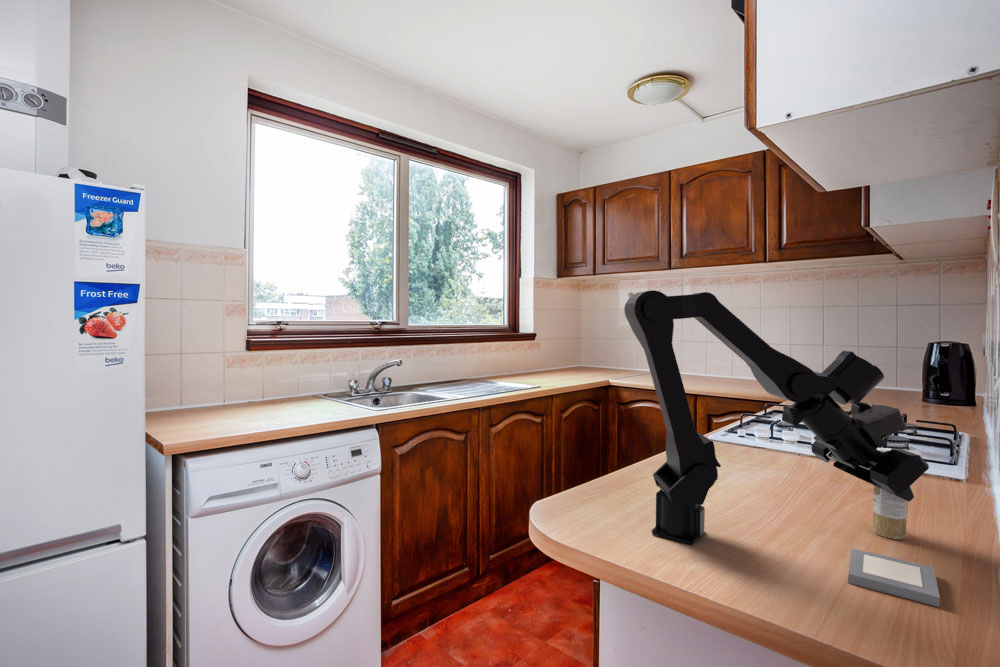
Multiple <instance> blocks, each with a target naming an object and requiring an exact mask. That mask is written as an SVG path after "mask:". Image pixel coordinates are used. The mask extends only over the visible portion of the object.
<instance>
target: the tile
mask: <svg viewBox="0 0 1000 667" xmlns="http://www.w3.org/2000/svg"><path fill="white" fill-rule="evenodd" d="M849 559H850V560H849V565H848V566H849V567H848V576H847V577H848V578H847V582H848V584H851V585H855V586H860V587H863V588H867V589H869V590H872V591H873V590H874V591H877V592H881V593H885V594H889V595H893V596H896V597H899V598H900V597H901V598H903V599H908V600H912V601H915V602H917V603H918V602H919V603H922V604H926V605H930V606H934V607H937V608H940V606H941V604H940V603H941V598H940V597H941V596H940V591H939V588H938V587H939V586H938V582H937V577H936V572H935V568H934V566H930V565H925V564H921V563H917V562H912V561H909V560H903V559H901V558H900V559H899V558H895V557H891V556H887V555H883V554H879V553H873V552H869V551H865V550H861V549H856V548H853V547H851V550H850V558H849Z"/></svg>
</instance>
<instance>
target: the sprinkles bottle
mask: <svg viewBox="0 0 1000 667" xmlns="http://www.w3.org/2000/svg"><path fill="white" fill-rule="evenodd" d="M891 449H892V448H886V447H881V448H879V447H878V448H877V450H878V451H881V452H886V451H890V450H891ZM908 510H909V501H907V500H904V499H902V498H900V497H898V496H896V495H894V494H892V493H889V492H887V491H885V490H883V489H881V488H879V487H877V486H875V485H873V498H872V511H873V512H872V513H873V514H872V526H871V529H872V531H873V533H875V534H876V535H879V536H880V537H883V538H889V539H891V540H892V539H893V540H905V539H907V538H908V533H907V519H908V512H909V511H908Z"/></svg>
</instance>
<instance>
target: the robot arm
mask: <svg viewBox="0 0 1000 667" xmlns="http://www.w3.org/2000/svg"><path fill="white" fill-rule="evenodd" d="M623 309H624V315H625V318H626V320H627V322H628V324H629V326H630V328H631V330H632V332H633V334H634V336H635V337H636V339H637V340H638V341H639V342H638V343H639V344H640V346H641V348H642V349H643V351H644V354H645V357H646V362H647V364H648V367H649V372H650V374H651V375H650V377H651V378H652V383H653V387H654V389H655V394H656V398H657V400H658V403H659V408H660V411H661V415H662V418H663V422H664V426H665V429H666V439H665V454H666V461H665V462H664V463H663V464H662V465H661V466H660V467H659V468H658V469H657V470H656V471H655V472H653V473H652V477H653V480H654V482H655V485H656V487H658V488H659V490H658V491H657V492H655V526H654V527H653V529H651V534H653V535H656V536H658V537H663V538H665V539H669V540H673V541H676V542H679V543H684V544H689V545H694V544H695V543H696V542H697V541H698V539H699V538H700V537H701V536H702V535H703V534H704V533H705V522H706V521H705V518H706V517H705V514H706V513H705V512H706V510H705V507H704V506H702V505H704V503H705V501H706V498H707V496H708V493H709V491H710V489H711V488H712V487H713V486H714V485H715V482H717V480H718V478H719V477H718V476H719V473H718V468H721V467H722V465H721V464H720V462H719V461H718V459H717V457H716V448H715V444H714V441H713V440H712V439H709V438H708V437H706V436H705V435H703V434H702V433H700V432H698V431H697V429H696V426H695V422H694V418H693V415H692V411H691V408H690V404H689V401H688V397H687V394H686V390H685V386H684V383H683V379H682V375H681V372H680V368H679V364H678V362H677V357H676V354H675V351H674V347H673V336H674V327H675V324H674V320H681V319H682V320H683V319H691V318H693V319H695V320H696V321H698V322H699V323H700V324H701V325H702V326H703V327H704V328H705V329H706V330H708V331H709V332H710V333H711V334H712V335H713V336H715V337H716V338H717V339H718V340H720V341H721V342H722V343H723V345H725V346H726V347H727V348H729V349H730V351H732V352H733V353H735V355H737V356H738V357H739V358H740V359H741V360H743V362H745V364H746V365H747V366H748V367H749V369H750V371H751V373H752V375H753V377H754V378H755V379H756V381H757V382H758V383H759V384H760V385H761V387H762V388H763V389H764V390H765V391H766V393H767V394H770V395H771V396H773V397H777V398H780V399H783V400H786V401H790V402H793V403H792V405H784V406H783V407H782V410H783V412H782V415H781V421H782V422H783V423H785V424H789V425H792V426H794V427H797V426H798V425H800V424H801V423H803V424H804V426H806V427H807V429H808V430H810V431H811V433H813V435H814V437H813V439H814V442H813V443H812V444H811V453H812V454H813V455H814V456H815V457H816V458H817V459H819V460H820V461H823V462H824V463H827V464H828V463H829V462H831V459H833V460H834V463H833V467H834V468H836V469H838V470H841V471H842V472H844V473H847V474H849V475H851V476H852V477H856V478H858V479H860V480H862V481H864V482H866V483H868V484H869V485H870V484H871V485H872V486H874V485H875V486H877V487H879V488H881V489H883V490H885V491H887V492H889V493H892V494H894V495H896V496H898V497H900V498H902V499H904V500H907V501H908V503H909V502H911V501H913V499H914V498H915V495H914V492H913V490H912V488H911V486H912V485H913V484H914V483H915V482H916V481H917V480H918V479H919V478H920V477H921V476H922V475H923V474H925V473H926V472H927V471H928V470H929V469H930V467H929V466H930V465H929V464H928V462H927V461H926V460H925V459H924V458H923V457H922V456H921V455H920V454H917V453H914V452H911V451H908V450H904V449H901V448H890V449H891V450H890V451H886V452H881V451H878V450H877V449H878V448H883V446H884V445H885V444H887V441H885V440H884V439H885V438H887V437H889V436H892V435H894V434H896V433H899V432H904V431H906V430H907V425H906V423H905V422H906V421H905V420H904V418H903V416H902V413H901V411H900V409H899V408H897V407H892V406H888V405H884V404H879V405H878V404H871V405H870V404H868V403H867V402H864V401H862V400H863V399H864V398H865V397H867V395H869V393H871V391H872V390H873V389H875V388H876V387H877V386H878V385H879V384H880V383H882V381H883V380H884V379H885V375H884V373H883V371H882V370H881V369H880V368H879V367H878V366H876V365H875V364H872V363H871V362H869V361H868V360H866V359H864V358H862V357H860V356H858V355H856V353H855V352H854V351H849V350H842V351H841V352H839V354H838V355H837V356H836V358H835V359H834V361H832V362H831V363H830V364H829V365H828V366H827V367H826V368H825V369H824V370H823V371H822V372H816V371H814V370H813V369H811V368H810V367H808V366H807V365H806V364H803V363H802V362H800V361H798V360H797V359H795V358H793V357H791V356H789V355H787V354H785V353H782V352H781V351H779V350H777V349H776V348H773V347H772V346H770V345H769V344H768V343H767V342H766V341H765V340H764V339H763V338H761V337H760V336H759V335H758V334H757V333H756V332H755V331H754V330H752V329H751V328H750V327H749V326H748V325H747V324H745V322H743V321H742V320H741V319H740V318H738V317H737V316H736V314H734V313H732V312H731V311H730V310H729V309H728V308H727V307H726V306H725V305H723V304H722V303H721V302H720V300H719V299H718V298H717V297H716V296H715V295H714V294H712V292H708V291H707V292H706V291H704V292H703V291H701V292H697V293H696V292H695V293H694V292H693V293H692V294H680V295H679V294H678V295H669V296H668V295H667V294H665V293H663V292H661V291H659V290H652V289H651V290H645V291H639V292H636V293H634V294H632V295H631V296H630V297H629V298H628V299H627V301H626V303H625V304H624V308H623ZM848 403H849V404H851V405H850V407H851V408H850V415H849V414H848V413H847V412H846V411H845V410H844V409H843V408H842V407H841V405H847V404H848ZM840 404H841V405H840Z"/></svg>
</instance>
